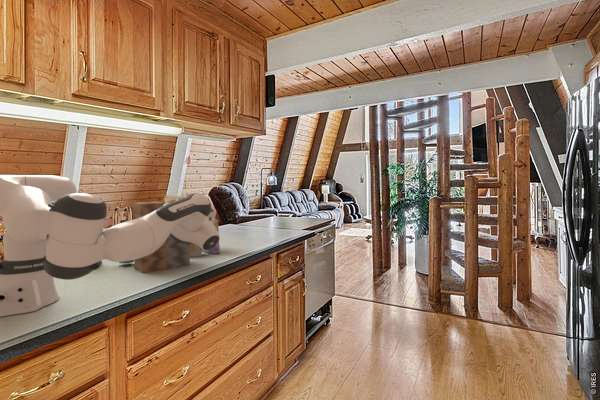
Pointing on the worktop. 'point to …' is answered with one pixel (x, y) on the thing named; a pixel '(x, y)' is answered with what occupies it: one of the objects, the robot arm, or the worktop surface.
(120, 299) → the worktop surface
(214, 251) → the cake pan box
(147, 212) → the stepped stand
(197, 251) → the coffee box
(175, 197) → the rod
